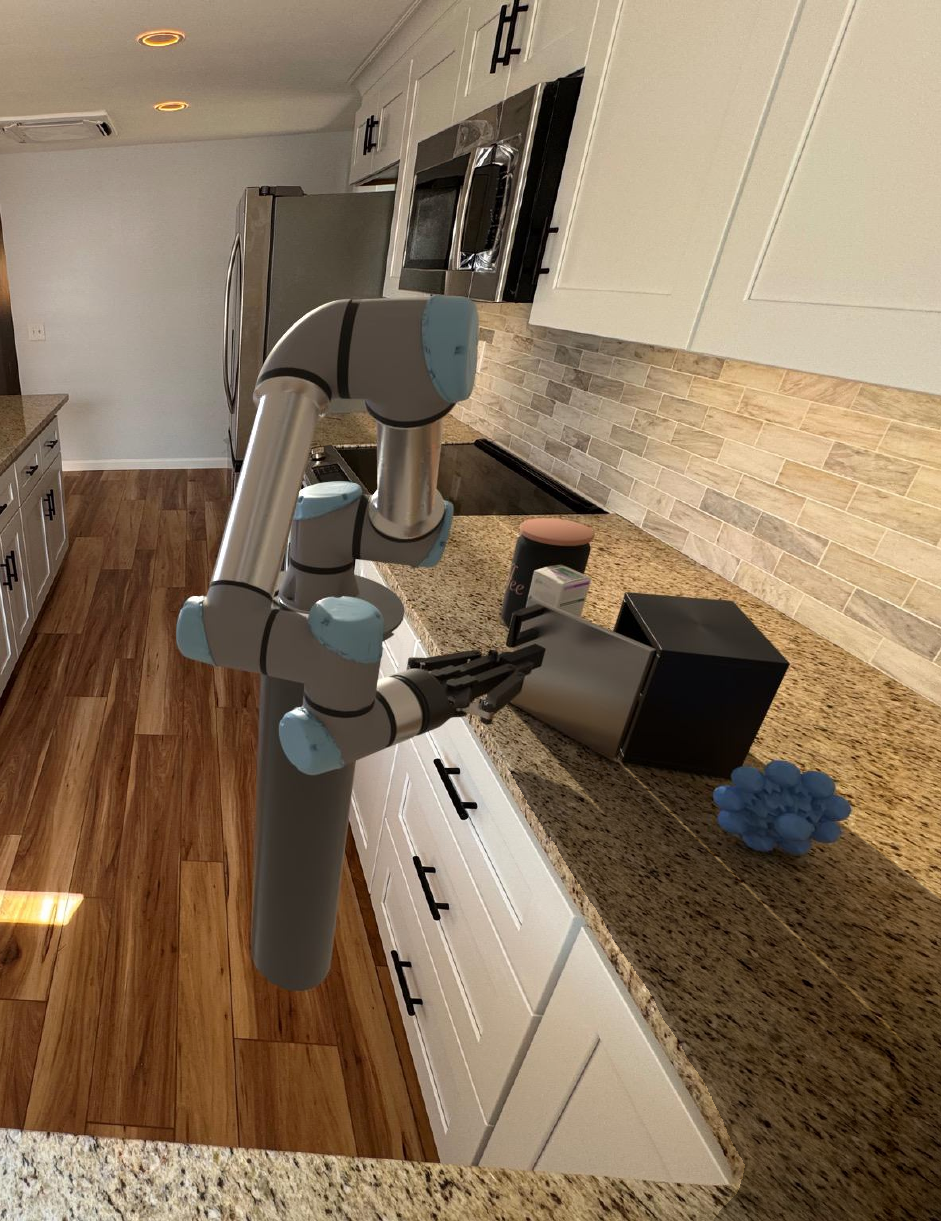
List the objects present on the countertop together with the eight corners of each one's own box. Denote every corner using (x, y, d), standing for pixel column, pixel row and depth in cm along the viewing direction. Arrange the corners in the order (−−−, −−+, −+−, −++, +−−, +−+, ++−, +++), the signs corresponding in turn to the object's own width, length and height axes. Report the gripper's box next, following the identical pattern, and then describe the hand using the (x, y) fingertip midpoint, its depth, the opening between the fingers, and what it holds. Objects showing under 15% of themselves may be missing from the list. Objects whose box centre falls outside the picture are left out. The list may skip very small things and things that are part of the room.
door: (586, 774, 85) (623, 662, 77) (479, 709, 98) (501, 608, 90) (617, 759, 87) (656, 649, 79) (508, 697, 100) (533, 597, 92)
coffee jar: (504, 605, 125) (525, 514, 117) (571, 618, 120) (597, 523, 111) (494, 629, 118) (515, 534, 110) (564, 644, 112) (592, 545, 104)
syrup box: (571, 657, 109) (594, 576, 102) (542, 664, 107) (563, 583, 101) (542, 640, 114) (563, 562, 107) (514, 647, 112) (533, 569, 106)
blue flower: (710, 868, 72) (751, 783, 66) (685, 823, 77) (721, 740, 72) (848, 892, 68) (904, 803, 62) (811, 842, 74) (860, 757, 68)
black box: (621, 762, 87) (661, 649, 79) (592, 693, 100) (625, 591, 92) (736, 780, 83) (790, 663, 75) (690, 706, 96) (733, 600, 88)
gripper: (358, 704, 86) (489, 657, 94) (439, 763, 75) (579, 703, 84) (365, 654, 83) (500, 610, 91) (450, 708, 72) (595, 652, 80)
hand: (538, 655), depth 87 cm, fingers closed
